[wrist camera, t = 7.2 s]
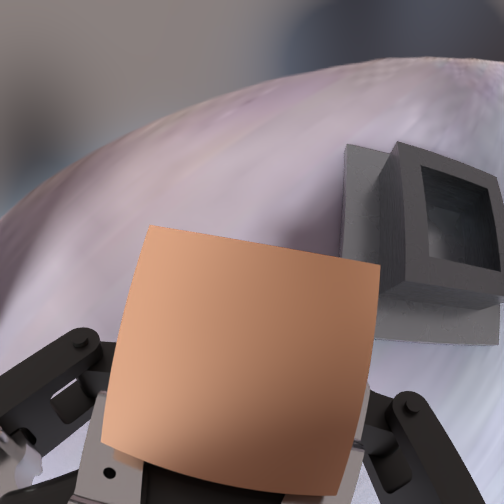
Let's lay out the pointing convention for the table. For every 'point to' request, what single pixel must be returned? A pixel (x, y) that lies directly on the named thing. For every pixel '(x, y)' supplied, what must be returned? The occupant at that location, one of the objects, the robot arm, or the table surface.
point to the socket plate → (426, 243)
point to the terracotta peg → (242, 362)
